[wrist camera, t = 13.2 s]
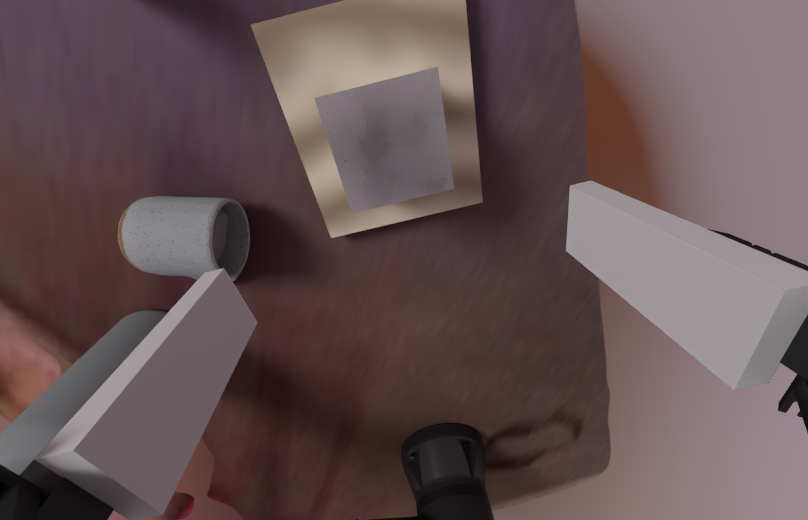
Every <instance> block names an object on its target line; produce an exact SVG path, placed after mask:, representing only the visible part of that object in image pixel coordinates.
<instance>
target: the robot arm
mask: <svg viewBox="0 0 808 520" xmlns="http://www.w3.org/2000/svg"><path fill="white" fill-rule="evenodd" d="M566 251H567V252H568V253H569V254H571V255H572V256H573V257H574V258H575V259H577V260H578V261H579V262H580V263H581V264H583V265H584V266H585V267H586V268H587V269H589V270H590V271H591V272H592V273H593V274H595V275H596V276H597V277H598V278H599V279H601V280H602V281H603V282H604V283H605V284H607V285H608V286H609V287H610V288H612V289H613V290H614V291H615V292H616V293H617V294H619V295H620V296H621V297H622V298H623V299H625V300H626V301H627V302H628V303H630V304H631V305H632V306H633V307H634V308H636V309H637V310H638V311H639V312H640V313H642V314H643V315H644V316H645V317H646V318H648V319H649V320H650V321H651V322H652V323H654V324H655V325H656V326H657V327H658V328H660V329H661V330H662V331H663V332H664V333H666V334H667V335H668V336H669V337H671V338H672V339H673V340H674V341H675V342H676V343H678V344H679V345H680V346H681V347H682V348H684V349H685V350H686V351H687V352H688V353H690V354H691V355H692V356H693V357H694V358H696V359H697V360H698V361H699V362H700V363H702V364H703V365H704V366H705V367H706V368H708V369H709V370H710V371H711V372H712V373H714V374H715V375H716V376H717V377H719V378H720V379H721V380H722V381H723V382H724V383H726V384H727V385H728V386H729V387H731V388H732V389H733V390H738V389H742V388H747V387H751V386H756V385H761V384H765V383H769V382H770V380H771V379H772V377H773V375H774V374H775V372H776V370H777V368H778V367H779V365H780V363H782V364H784V365H785V366H787V367H788V368H789V369H791V370H792V371H794V372H795V373H797V376H796V377H795V379H794V381H793V382H792V383H791V385H790V387H789V388H788V390H787V391H786V393H785V394H784V396H783V397H782V399H781V400H780V402H779V407H778V411H781V412H785V413H786V412H787V411H788V409H789V408H790V406H791V405H792V403H793V402H798V405H799V408H800V412H799V413H798V416H799V417H802V418H803V420H804V423H805V426H806V429H807V432H808V266H807V265H805V264H802V263H800V262H797V261H795V260H792V259H790V258H787V257H785V256H782V255H780V254H777V253H773V254H772V253H771V251H770V250H767V249H765V248H763V247H760V246H758V245H753V246H752V244H751V243H750V242H748V241H745V240H743V239H740V238H738V237H735V236H733V235H730V234H727V233H723V232H719V231H714V230H710V229H705V228H702V227H701V226H698V225H696V224H693V223H691V222H689V221H686V220H684V219H681V218H679V217H676V216H674V215H672V214H669V213H667V212H665V211H662V210H660V209H657V208H655V207H653V206H650V205H648V204H645V203H643V202H641V201H638V200H636V199H634V198H631V197H628V196H626V195H624V194H622V193H619V192H617V191H614V190H612V189H610V188H607V187H605V186H602V185H600V184H597V183H595V182H593V181H587V182H583V183H579V184H575V185H571V186H570V194H569V210H568V227H567V243H566ZM256 324H257V321H256V319H255V318H254V316H253V315H252V313H251V311H250V310H249V308H248V306H247V305H246V303H245V301H244V300H243V298H242V296H241V295H240V293H239V291H238V290H237V288H236V287H235V285H234V283H233V282H232V280H231V278H230V277H229V275H228V273H227V272H226V270H225V268H222V269H218V270H213V271H209V272H205V273H204V274H203V275H202V276H201V277H200V278H199V279H198V280H197V282H196V283H195V284H194V285H193V286H192V287H191V288H190V289H189V290H188V291H187V293H186V294H185V295H184V296H183V297H182V298H181V299H180V300H179V301H178V302H177V303H176V305H175V306H174V307H173V308H172V309H171V310H170V311H169V312H168V313H167V314H166V316H165V317H164V318H163V319H162V320H161V321H160V322H159V323H158V324H157V325H156V326H155V328H154V329H153V330H152V331H151V332H150V333H149V334H148V335H147V336H146V337H145V339H144V340H143V341H142V342H141V343H140V344H139V345H138V346H137V347H136V348H135V349H134V351H133V352H132V353H131V354H130V355H129V356H128V357H127V358H126V359H125V360H124V362H123V363H122V364H121V365H120V366H119V367H118V368H117V369H116V370H115V371H114V372H113V374H112V375H111V376H110V377H109V378H108V379H107V380H106V381H105V382H104V383H103V384H102V385H101V387H100V388H99V389H98V390H97V391H96V392H95V393H94V394H93V395H92V397H91V398H90V399H89V400H88V401H87V402H86V403H85V404H84V405H83V406H82V407H81V408H80V410H79V411H78V412H77V413H76V414H75V415H74V416H73V417H72V418H71V419H70V421H69V422H68V423H67V424H66V425H65V426H64V427H63V428H62V429H61V430H60V431H59V433H58V434H57V435H56V436H55V437H54V438H53V439H52V440H51V441H50V442H49V444H48V445H47V446H46V447H45V448H44V449H43V450H42V451H41V452H40V453H39V454H38V456H37V457H36V458H35V459H34V460H33V461H32V462H31V463H30V464H29V465H28V466H27V468H26V469H25V470H24V471H23V472H22V473H21V474H20V475H18V474H16V473H14V472H12V471H11V470H9V469H7V468H6V467H4V466H2V465H1V464H0V520H107V519H108V518H109V516H110V515H111V513H112V511H113V510H114V511H116V512H118V513H119V514H121V515H122V516H124V517H125V518H127V519H129V520H140V519H144V518H149V517H153V516H158V515H163V513H164V511H165V509H166V507H167V505H168V503H169V501H170V499H171V497H172V495H173V493H174V491H175V489H176V487H177V484H178V483H179V481H180V479H181V477H182V475H183V473H184V470H185V469H186V466H187V464H188V462H189V460H190V458H191V456H192V454H193V452H194V450H195V448H196V446H197V444H198V442H199V440H200V438H201V436H202V434H203V432H204V430H205V428H206V426H207V424H208V422H209V420H210V418H211V416H212V414H213V412H214V410H215V408H216V405H217V403H218V401H219V399H220V397H221V395H222V393H223V391H224V389H225V387H226V385H227V383H228V381H229V379H230V377H231V375H232V373H233V371H234V369H235V367H236V365H237V363H238V361H239V359H240V357H241V355H242V353H243V351H244V349H245V347H246V344H247V342H248V340H249V338H250V336H251V334H252V332H253V330H254V328H255V326H256ZM401 454H402V465H403V469H404V471H405V474H406V476H407V479H408V481H409V484H410V487H411V489H412V492H413V494H414V497H415V500H416V505H417V515H418V516H415V517H402V518H386V519H370V520H494V517H493V514H492V510H491V507H490V503H489V500H488V496H487V493H486V488H485V450H484V446H483V442H482V439H481V436H480V434H479V433H478V432H477V431H476V430H475V429H473V428H471V427H469V426H466V425H462V424H439V425H434V426H430V427H427V428H424V429H422V430H420V431H418V432H416V433H414V434H413V435H411V436H410V437H409V438H408V439H407V440H406V441H405V443H404V444H403V446H402V450H401ZM355 520H359V519H355Z"/></svg>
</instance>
